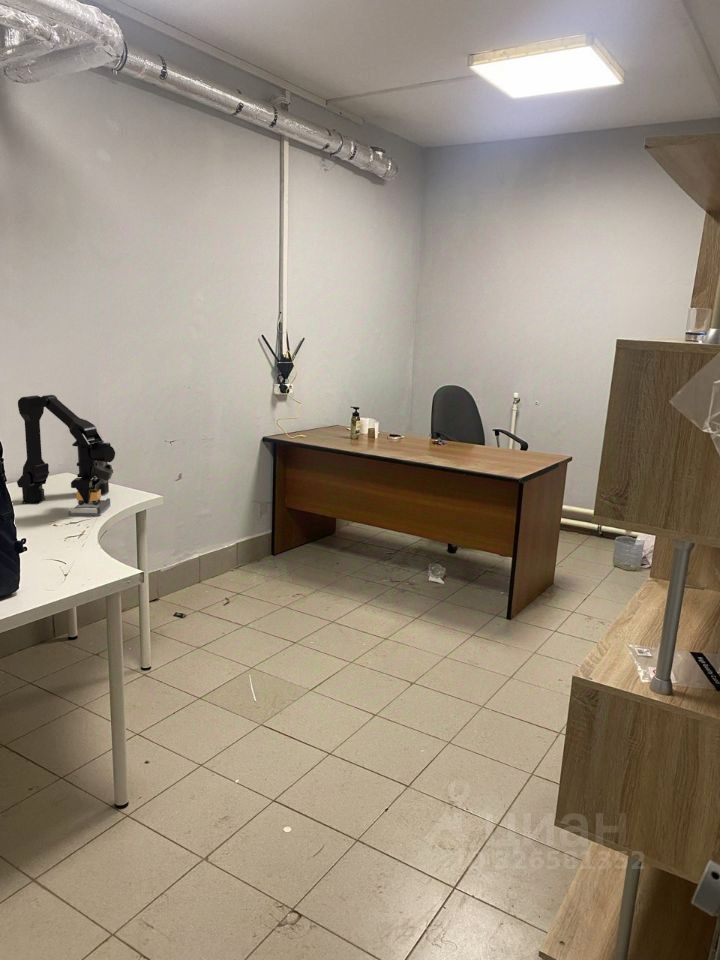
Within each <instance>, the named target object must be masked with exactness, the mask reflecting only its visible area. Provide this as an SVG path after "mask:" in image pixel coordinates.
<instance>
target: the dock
mask: <svg viewBox="0 0 720 960" xmlns="http://www.w3.org/2000/svg"><path fill="white" fill-rule="evenodd" d="M100 500H101V501H100V503H98V504H97V505H93V504H92V502H93V501H89V503H88V504H87V503H84V504H83V505H79V504H78V503H77V505H76V506H74V507H72V508H71V507H70V511H69V512H68V513H67V514H68V515H67V516H71V517H72V516H73V517H74V516H75V517H101V516H102V515H103V514H104V513H105V512H106V511H107V510H108V509H109V508H111V498H106V499H100ZM102 513H103V514H102ZM101 514H102V515H101Z"/></svg>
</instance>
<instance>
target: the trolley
mask: <svg viewBox="0 0 720 960" xmlns="http://www.w3.org/2000/svg"><path fill="white" fill-rule="evenodd" d="M101 498H102V495H101V489H90V497H89V501H93V502H92V504H93V505H97V504H98V503H100V501H101V500H102V499H101ZM76 500H77V501H78V502H77V505H78V504H79V505H83V504H84V503H85V502H84V500H83V498H82V497H81V495H80V493H79V492H78V491H76Z"/></svg>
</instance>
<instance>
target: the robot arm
mask: <svg viewBox="0 0 720 960" xmlns="http://www.w3.org/2000/svg"><path fill="white" fill-rule="evenodd" d="M17 407H18V412H19V413H18V414H19V415H20V416H21V418H22V419H23V421H24V431H25V432H24V433H25V446H26V447H25V448H26V460H25V462H24V465H23V467H22V475H21V476H20V477H19V478H18V479H17V481H16V484H17V487H18V488H20V489H21V492H22V501H21V502H23V503H22V504H36V503H38V504H41V503H42V502H44V501H45V500H46V498H45V497H46V496H45V489H44V488H43V485H45V484H46V483H47V479H48V478H49V474H50V471H49V463H48V462H47V463H46V462H45V461H44V459H43V457H42V456H43V454H42V439H41V438H42V437H41V424H40V421H41V418H42V416H43V414H44V410H45V408H46V409H47V410H48V411H49V412H50V413H51V414H53V416H55V417H56V418H57V419H59V420H60V421H61V422H62V423H63V424H64V425H65V426H66V427H68V430H69V433H70V434H71V435H72V437H73V438H74V439H75V441H74V442H73V443H72V446H71V447H77V461H78V462H77V463H76V466H77V467H78V473H77V475H76V478H74V479H73V480H72V481H71V482H70V488H71V489H76V490H77V492H79V493H80V495H81V497H82V498H83V500H84V502H85V503H87V504H88V503H89V497H90V489H95V488H96V485H97V483H98V482H99V481H101V479H97V477H99V478H102V479H103V480H106V481H108V482H109V480H111V478H112V475H113V474H114V469H113V467H112V464H110V463H111V462H113V461H114V460H115V458H116V457H115V456H116V451H115V449H114V447H113V446H112V444H111V442H105V441H104V439H103V437H102V436H101V434H100V432H99V431H98V429H97V426H96V425H95V424H93V423H92V422H90V421H88V420H87V419H84V418H81V417H79V416H77V414H75V412H73V411H72V410H71V409H69V407H67V406H66V405H65V404H64V403H62V402H61V401H60V400H59V399H58V397H57V396H56V395H54V394H47V395H46V394H45V395H42V396H40V395H38V394H37V395H28V396H22V397H20V398H19V399H18V401H17ZM97 461H103V462H107V463H108V464H107V465H106V466H105V467H103V466H99V465H98V462H97ZM24 502H25V503H24Z"/></svg>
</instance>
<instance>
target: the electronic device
mask: <svg viewBox="0 0 720 960" xmlns="http://www.w3.org/2000/svg"><path fill="white" fill-rule="evenodd" d="M97 462H98V465H99V466H103V467H105V466H106V465H107V464H109V462H103V461H97ZM97 479H101V481H99V482H98V483H97V485H96V488H95V489H101V496H106V495H107V494H109V492H110V487H109V480H108V481H106V480H103V479H102V478H99V477H97ZM105 494H106V495H105Z"/></svg>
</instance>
